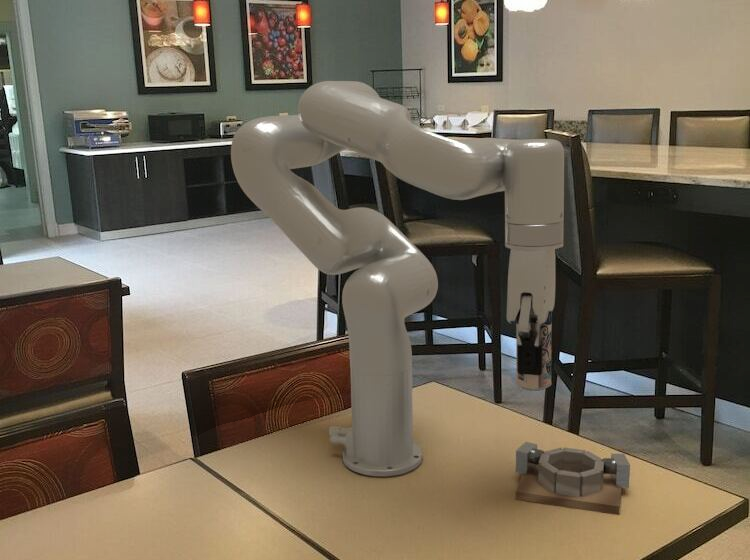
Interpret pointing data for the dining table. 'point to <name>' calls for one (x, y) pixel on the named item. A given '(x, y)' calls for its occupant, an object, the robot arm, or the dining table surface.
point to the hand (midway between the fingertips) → (533, 366)
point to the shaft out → (618, 470)
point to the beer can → (546, 341)
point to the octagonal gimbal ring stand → (570, 482)
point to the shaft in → (527, 458)
